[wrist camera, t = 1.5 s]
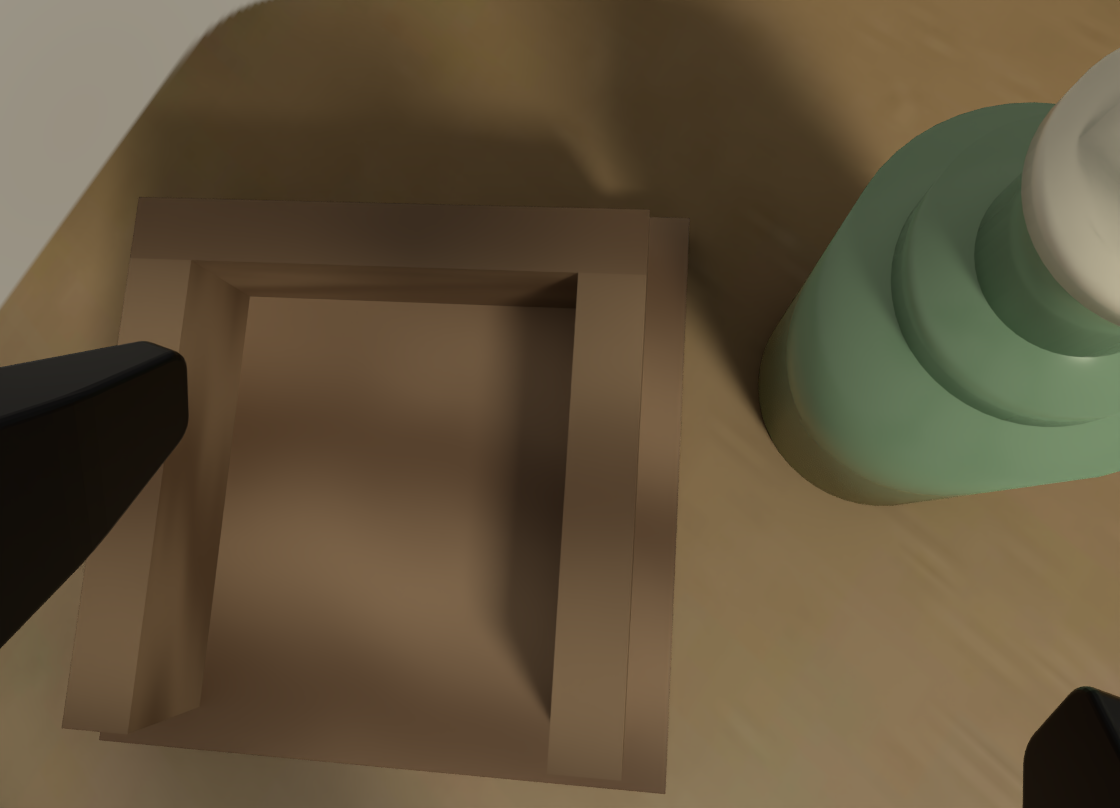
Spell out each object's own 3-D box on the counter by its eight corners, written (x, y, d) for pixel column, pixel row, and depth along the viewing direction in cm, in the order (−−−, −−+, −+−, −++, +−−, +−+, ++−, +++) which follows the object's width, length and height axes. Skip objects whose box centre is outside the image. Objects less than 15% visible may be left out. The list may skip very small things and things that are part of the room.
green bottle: (1000, 512, 21) (1557, 469, 8) (755, 498, 22) (922, 437, 9) (996, 280, 22) (1492, -81, 9) (761, 272, 23) (920, -77, 10)
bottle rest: (663, 779, 21) (669, 839, 17) (128, 729, 22) (11, 773, 18) (687, 234, 23) (697, 168, 19) (195, 221, 24) (105, 156, 20)
